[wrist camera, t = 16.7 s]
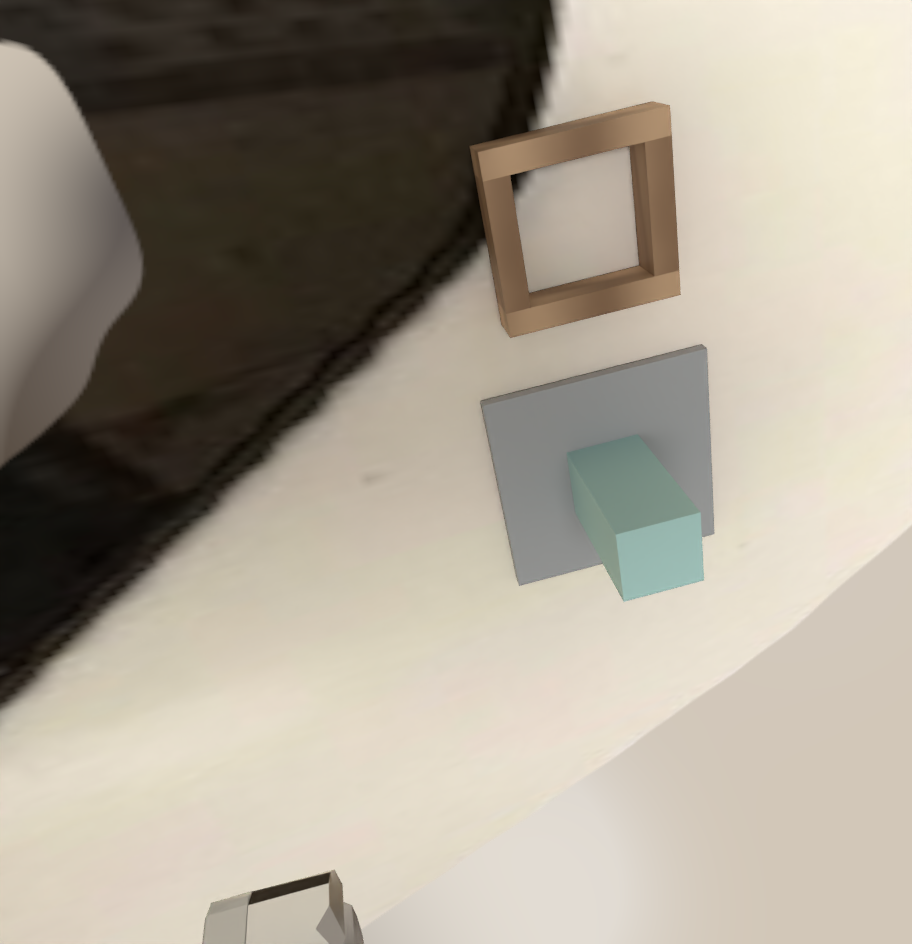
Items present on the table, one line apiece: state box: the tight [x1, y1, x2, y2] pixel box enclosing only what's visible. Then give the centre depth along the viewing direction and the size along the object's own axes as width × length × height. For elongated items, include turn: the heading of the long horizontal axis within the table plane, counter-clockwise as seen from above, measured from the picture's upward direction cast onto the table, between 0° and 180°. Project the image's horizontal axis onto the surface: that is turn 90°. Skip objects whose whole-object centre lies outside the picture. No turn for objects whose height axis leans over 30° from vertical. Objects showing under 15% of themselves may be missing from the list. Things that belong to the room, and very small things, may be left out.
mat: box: [480, 345, 714, 586], centre depth 44 cm, size 12×12×1 cm
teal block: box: [567, 434, 704, 602], centre depth 40 cm, size 4×4×8 cm
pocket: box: [470, 102, 681, 338], centre depth 36 cm, size 8×8×2 cm
